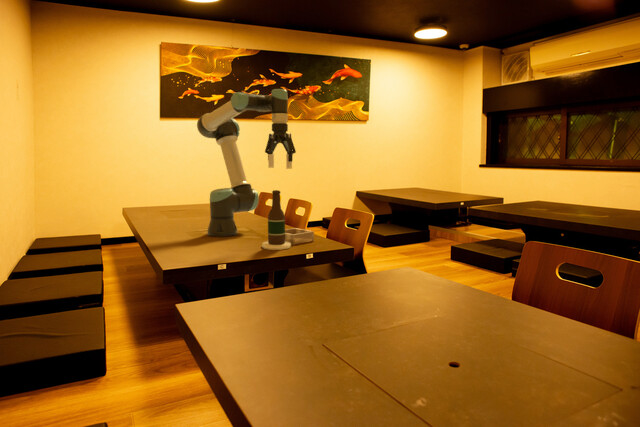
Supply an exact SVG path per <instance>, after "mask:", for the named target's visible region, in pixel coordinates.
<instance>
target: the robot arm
mask: <svg viewBox="0 0 640 427" xmlns="http://www.w3.org/2000/svg"><path fill="white" fill-rule="evenodd" d="M288 100H289V96H288V90H286V89H283V88H274V89H272V90H271V94H267V95H263V94H255V93H249V92H248V93H247V92H243V91H240V92H239V91H237V92H234V93H232V95H231V97H230V100H229V101H227V102H226V103H224V104H222V105H221V106H219V107H218V108H216V109H215V110H212V112H207V113H204V114H202V115H201V116H200V117H199V118H198V120H197V124H196V127H197V130H198V132H199V134H200V135H201V136H203V137H204V138H207V139H215V142H216V144H217V145H219V146H220V149H221V153H222V156H223V161H224V163H225V167H226V171H227V174H228V177H229V178H228V179H229V181H230V185H231V187H225V188H224V187H223V188H217V189H214V190H212V191H210V193H209V204H210V205H209V213H210V215H209V217H210V220H209V224H208V227H207V236H210V237H218V238H219V237H220V238H223V237H232V236H236V235H238V228H237V225H236V222H235V218H234V215H235V214H234V213H243V212H244V213H245V212H251V211H254V210H256V208H257V207H258V205H259V200H260V196H259V192H258V191H257V190H256V189H254V188H252V184H251V183H249V182H248V181H247V176H246V173H245V169H244V167H243V162H242V160H241V159H242V158H241V156H240V152H239V149H238V145H237V141H238V140H239V138H238V137H239V136H240V130H241V129H240V125H239V123H238V121H237V120H236V119H235V117H237V116H238V115H240V114H242V113H244V112H246V111H256V112H259V113H266V112H271V122H272V123H271V131H272V132H273V133H269V134H268V140H267V144H266V147H265V150H264V153H266V154H267V162H268V169H269V168H270V169H271V168H273V169H274V167H275V165H274V164H275V157H274V156H275V155H274V152H275V150H276V148H277V146H278V144H282V145H283V146H282V147H283V148H284V150H285V151H286V159H285V160H286V166H285V167H286V169H289V170H291V169H292V168H293V155H294V154H297V153H296V152H297V150H296V148H295V145H294V143H293V139H292V133H290V132H288V130H289V128H288V127H289V126H288V125H289V124H288V122H289V120H288V119H289V115H288V112H289V110H288V105H289V101H288Z"/></svg>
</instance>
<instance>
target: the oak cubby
mask: <svg viewBox="0 0 640 427" xmlns="http://www.w3.org/2000/svg"><path fill="white" fill-rule="evenodd" d="M314 240H315V232H314V231H313V230H308V229H302V228H298V227H293V228H287V229H286V228H285V241H288V242H290V243H291V246H292V245H298V244H305V243H308V242H314Z"/></svg>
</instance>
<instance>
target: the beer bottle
mask: <svg viewBox="0 0 640 427" xmlns="http://www.w3.org/2000/svg"><path fill="white" fill-rule="evenodd" d="M271 193H272V199H271V200H272V201H271V202H272V203H271V209H270V210H269V212H268V214H267V241H268V243H269V244H270V245H282V244H284V243H285V230H286V217H285V213H284V211H283V209H282V206H281V191H280V190H277V189H276V190H275V189H274V190H272V191H271Z"/></svg>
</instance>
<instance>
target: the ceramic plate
mask: <svg viewBox="0 0 640 427" xmlns="http://www.w3.org/2000/svg"><path fill="white" fill-rule="evenodd" d="M261 247H262V249H265V250H270V251H282V250H287V249H291V247H292V244H291V243H290V242H288V241H285V243H284V244H282V245H270V244H269V243H268V240H267V241H264V242H262V243H261Z"/></svg>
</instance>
